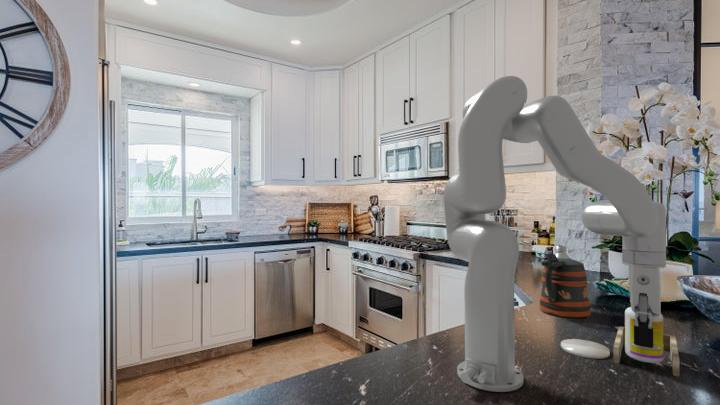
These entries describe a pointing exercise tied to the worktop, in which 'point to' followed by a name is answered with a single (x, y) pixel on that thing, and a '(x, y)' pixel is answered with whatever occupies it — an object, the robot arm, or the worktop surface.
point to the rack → (668, 343)
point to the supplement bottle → (639, 351)
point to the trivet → (585, 348)
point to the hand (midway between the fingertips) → (643, 340)
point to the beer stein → (564, 288)
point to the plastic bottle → (561, 251)
